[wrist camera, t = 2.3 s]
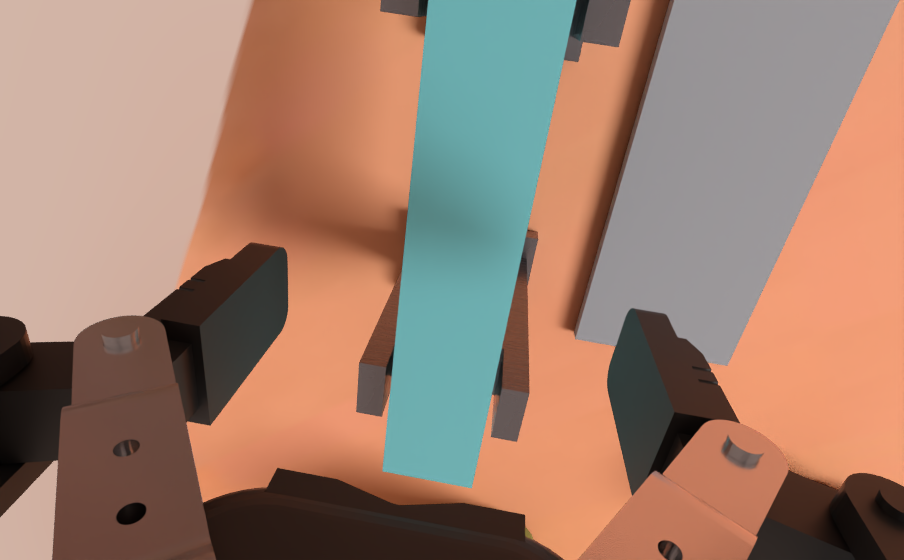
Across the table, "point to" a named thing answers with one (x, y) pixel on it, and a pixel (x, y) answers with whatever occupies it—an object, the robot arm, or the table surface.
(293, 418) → the table surface
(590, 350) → the table surface
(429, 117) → the rail bar
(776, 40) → the rubber mat
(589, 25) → the bracket stand
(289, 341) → the table surface
